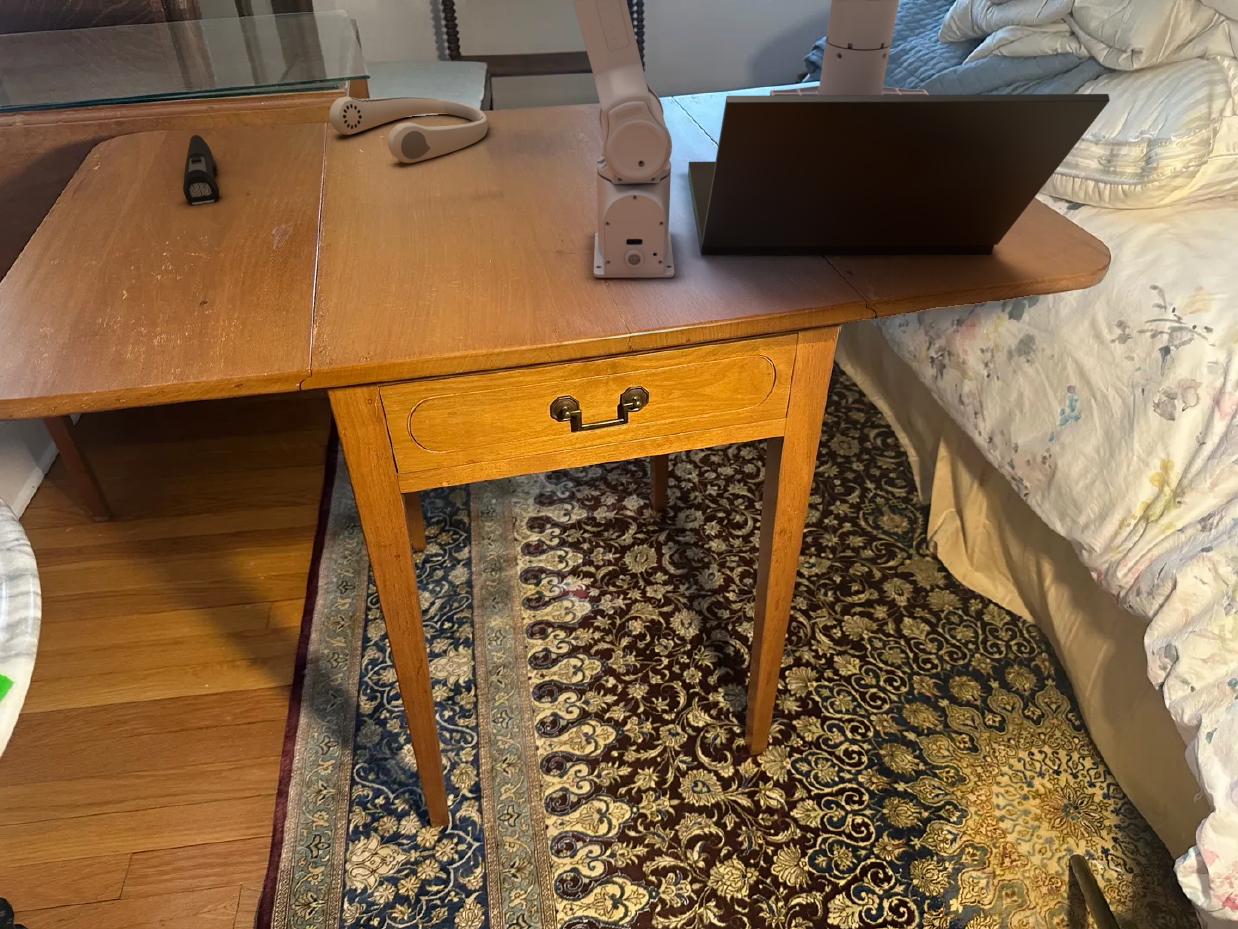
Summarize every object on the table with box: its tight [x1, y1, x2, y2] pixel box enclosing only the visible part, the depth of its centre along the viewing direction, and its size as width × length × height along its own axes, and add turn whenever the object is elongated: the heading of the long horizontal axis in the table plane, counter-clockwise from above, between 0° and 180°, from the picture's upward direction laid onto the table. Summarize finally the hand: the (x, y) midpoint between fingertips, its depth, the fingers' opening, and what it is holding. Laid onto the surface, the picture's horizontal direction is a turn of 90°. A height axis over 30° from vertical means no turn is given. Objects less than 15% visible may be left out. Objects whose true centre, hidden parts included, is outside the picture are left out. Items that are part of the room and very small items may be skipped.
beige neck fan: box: [329, 95, 489, 164], centre depth 114 cm, size 18×17×5 cm
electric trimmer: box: [182, 134, 220, 206], centre depth 104 cm, size 4×16×3 cm, turn 21°
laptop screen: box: [702, 93, 1111, 246], centre depth 77 cm, size 21×30×1 cm
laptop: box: [687, 161, 995, 257], centre depth 96 cm, size 21×30×2 cm
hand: (834, 189), depth 86 cm, fingers closed
